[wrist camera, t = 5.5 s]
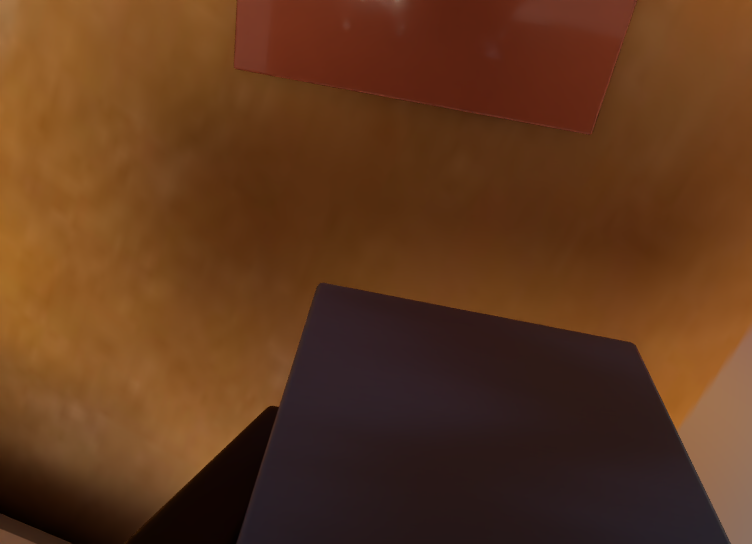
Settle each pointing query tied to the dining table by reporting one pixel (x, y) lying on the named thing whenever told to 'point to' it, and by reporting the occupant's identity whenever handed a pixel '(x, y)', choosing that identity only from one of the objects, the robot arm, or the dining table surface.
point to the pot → (24, 533)
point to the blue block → (469, 435)
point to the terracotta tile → (446, 52)
